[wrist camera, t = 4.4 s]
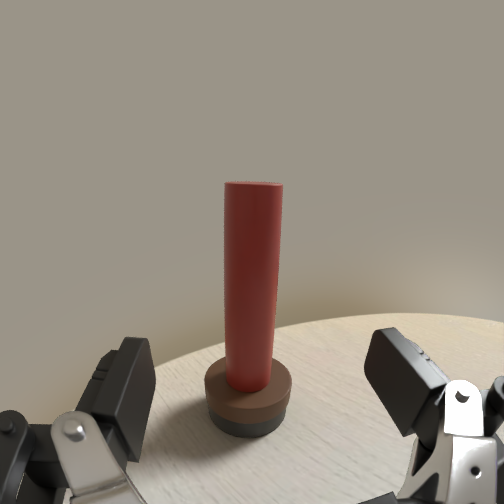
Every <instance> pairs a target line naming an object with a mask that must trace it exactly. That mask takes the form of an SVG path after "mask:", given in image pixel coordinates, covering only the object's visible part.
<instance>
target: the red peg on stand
mask: <svg viewBox="0 0 504 504" xmlns="http://www.w3.org/2000/svg"><path fill="white" fill-rule="evenodd" d="M282 194H283V184H280V183H270V182H269V183H268V182H226V183H225V193H224V197H225V199H224V307H225V354H226V357H224V358H221V359H219V360H217V361H216V362H215V363H213V364H212V365H211V366H210V367H209V369H208V370H207V372H206V375H205V379H204V381H205V392H206V399H207V402H208V404H209V413H210V417H211V419H212V421H213V422H214V423H215V425H216V426H217V427H219V428H220V429H221V430H223V431H224V432H226V433H228V434H231V435H234V436H238V437H258V436H262V435H265V434H268V433H270V432H272V431H273V430H275V429H276V428H277V427H278V426H279V425H280V424H281V423H282V421H283V419H284V417H285V412H286V406H287V404H288V402H289V398H290V392H291V386H292V379H291V375H290V373H289V371H288V370H287V368H286V367H285V366H284V365H283V364H282V363H280V362H279V361H277V360H275V359H273V358H272V353H273V341H274V328H275V315H276V301H277V286H278V271H279V254H280V236H281V215H282Z"/></svg>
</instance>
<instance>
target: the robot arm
mask: <svg viewBox="0 0 504 504" xmlns="http://www.w3.org/2000/svg"><path fill="white" fill-rule="evenodd" d="M364 372H365V376H366V378H367V380H368V381H369V383H370V384H371V386H372V387H373V389H374V391H375V392H376V394H377V395H378V397H379V399H380V400H381V402H382V403H383V405H384V407H385V408H386V410H387V411H388V413H389V415H390V416H391V418H392V420H393V421H394V423H395V424H396V426H397V428H398V429H399V431H400V433H401V434H402V436H403V437H405V436H408V435H411V434H413V433H416V435H417V437H416V439H415V441H414V444H413V449H412V454H411V459H410V463H409V467H408V471H407V475H406V479H405V482H404V484H403V486H402V488H401V490H400V491H399V493H398V494H397V496H396V497H395V495H394V493H393V491H392V492H390V493H387V494H385V495H382V496H379V497H376V498H374V499H371V500H368V501H365V502H361V503H358V504H496V503H497V504H504V444H503V443H502V441H501V440H500V439H499V437H498V436H497V434H496V433H495V432H496V431H497V429H498V428H499V427H500V426H501V424H502V423H503V421H504V376H500V377H497V378H496V379H495V381H494V383H493V384H492V386H491V388H490V389H486V390H477V388H476V387H475V386H473V385H472V384H470V383H468V382H466V381H460V380H459V381H453V382H452V381H451V380H450V379H449V378H448V377H447V376H446V375H445V374H444V373H443V371H442V370H441V369H440V368H439V367H438V366H437V365H436V364H435V363H434V362H433V361H432V360H430V358H429V357H428V356H427V355H426V354H424V351H423V350H422V349H421V348H420V347H419V346H418V345H417V344H415V343H413V342H412V341H410V340H408V339H406V338H405V337H404V336H403V335H402V334H401V333H400V332H399V331H398V330H397V329H396V328H394V327H392V328H386V329H379V330H375V331H374V333H373V335H372V339H371V342H370V346H369V349H368V353H367V356H366V360H365V363H364ZM155 386H156V376H155V370H154V365H153V361H152V356H151V351H150V345H149V341H148V339H147V338H136V337H125V338H124V340H123V342H122V344H121V346H120V348H119V350H111V351H110V352H108V353H107V354H106V355H105V356H103V357H102V358H101V360H100V362H99V364H98V366H97V367H96V371H94V373H93V375H92V379H90V381H89V383H88V385H87V387H86V389H85V391H84V393H83V395H82V397H81V399H80V401H79V403H78V405H77V407H76V409H75V411H70V412H66V413H64V414H62V415H60V416H59V417H57V419H56V420H55V421H54V422H53V424H50V425H47V424H46V425H45V424H43V425H42V424H28V422H27V421H26V419H25V418H24V416H23V415H22V414H20V413H19V412H17V411H14V410H7V411H3V412H1V413H0V504H63V500H64V495H65V491H66V488H70V489H71V491H72V494H73V497H70V504H147V503H146V501H145V500H144V498H143V497H142V496H141V494H140V493H139V491H138V490H137V488H136V487H135V485H134V484H133V482H132V481H131V479H130V478H129V476H128V475H127V473H126V471H125V470H126V465H127V461H132V462H138V463H139V459H140V454H141V449H142V444H143V439H144V435H145V430H146V425H147V421H148V417H149V412H150V408H151V404H152V400H153V395H154V391H155ZM23 473H24V476H23ZM22 476H23V479H22ZM21 479H22V482H21ZM20 482H21V486H20V489H19V485H20ZM18 489H19V492H18ZM17 492H18V495H17ZM16 495H17V499H16Z"/></svg>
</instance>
